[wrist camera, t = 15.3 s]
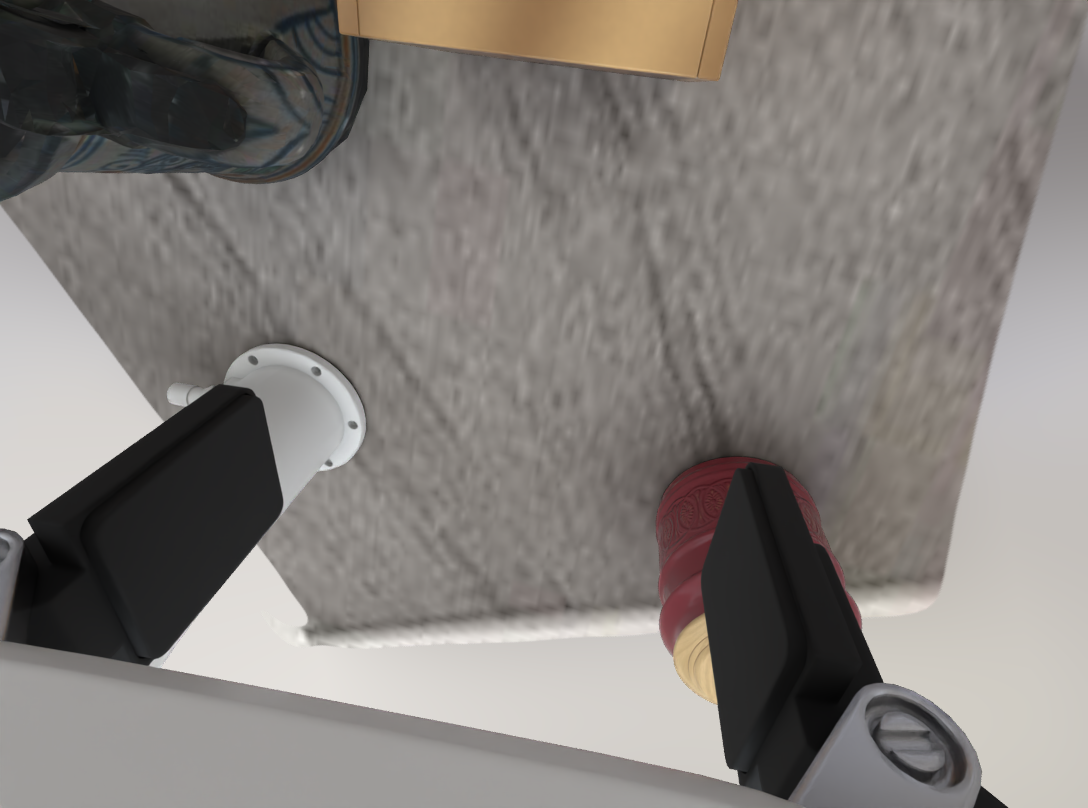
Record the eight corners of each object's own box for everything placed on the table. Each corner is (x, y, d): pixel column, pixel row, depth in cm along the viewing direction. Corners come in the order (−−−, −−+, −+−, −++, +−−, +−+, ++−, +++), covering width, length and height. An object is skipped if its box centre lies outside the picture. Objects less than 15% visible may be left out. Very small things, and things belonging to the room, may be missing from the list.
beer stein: (69, -110, 31) (-1146, -521, 10) (376, -203, 27) (-553, -1209, 6) (199, 191, 39) (-320, 318, 18) (450, 153, 35) (165, 258, 14)
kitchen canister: (759, 584, 50) (809, 797, 35) (631, 536, 50) (627, 731, 35) (846, 487, 44) (954, 699, 29) (699, 429, 43) (730, 615, 28)
